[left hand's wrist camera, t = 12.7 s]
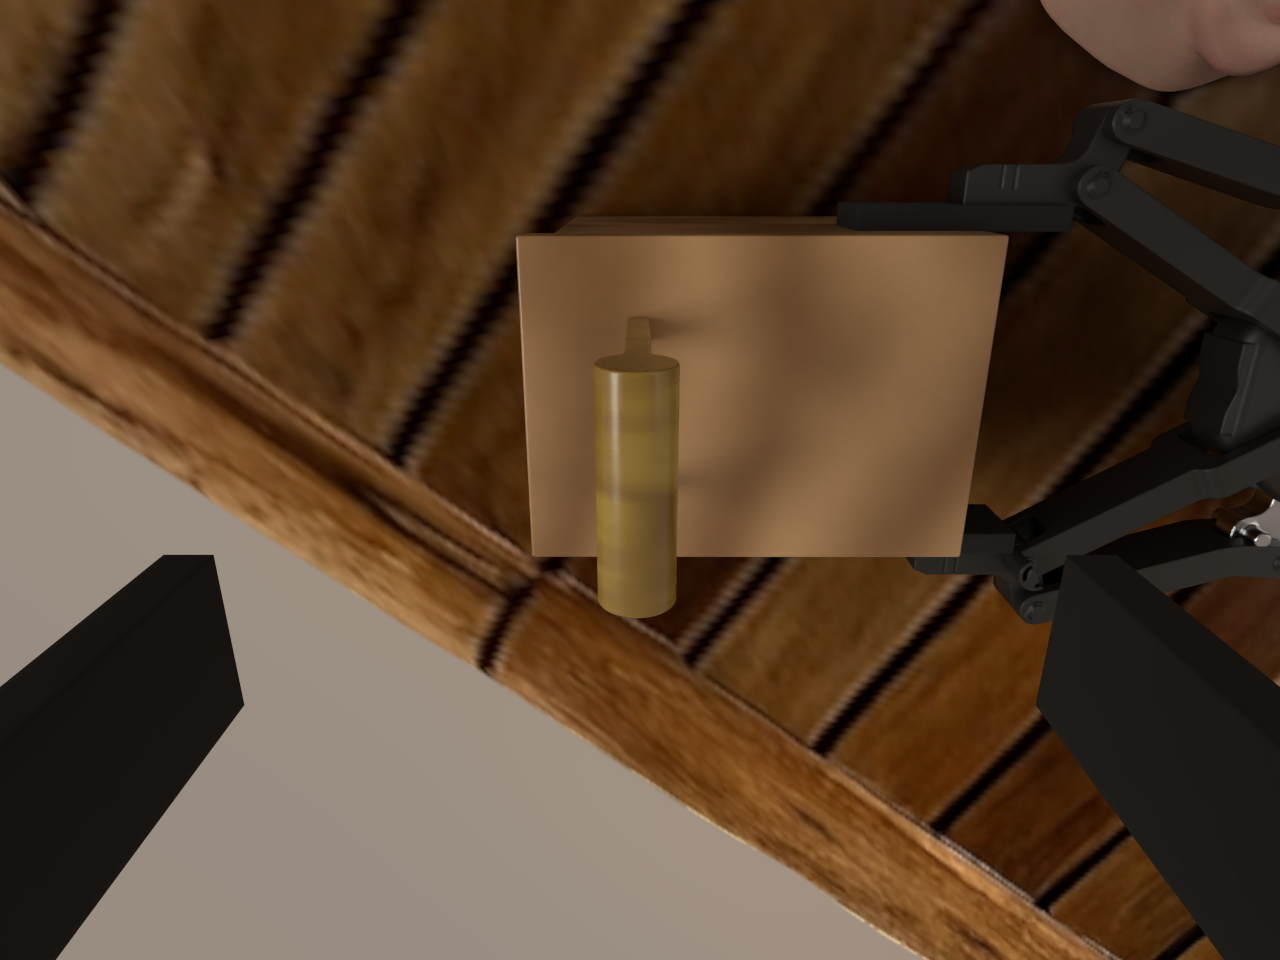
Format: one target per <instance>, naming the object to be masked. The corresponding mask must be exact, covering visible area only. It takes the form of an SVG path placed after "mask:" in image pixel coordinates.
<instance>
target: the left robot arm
mask: <svg viewBox="0 0 1280 960" xmlns="http://www.w3.org/2000/svg"><path fill="white" fill-rule="evenodd" d="M243 706H244V701H243V697H242V692H241V687H240V682H239V677H238V672H237V668H236V662H235V658H234V653H233V648H232V643H231V638H230V633H229V628H228V624H227V619H226V614H225V609H224V604H223V599H222V594H221V589H220V585H219V580H218V575H217V570H216V565H215V560H214V556H213V555H163V556H162V557H161V558H159V559H158V560H157V561H156V562H154V563H153V564H152V565H151V566H149V567H148V568H147V569H146V570H144V571H143V572H142V573H141V574H139V575H138V576H137V577H136V578H135V579H133V580H132V581H131V582H130V583H128V584H127V585H126V586H125V587H123V588H122V589H121V590H120V591H118V592H117V593H116V594H115V595H113V596H112V597H111V598H110V599H109V600H107V601H106V602H105V603H104V604H102V605H101V606H100V607H99V608H97V609H96V610H95V611H94V612H92V613H91V614H90V615H89V616H87V617H86V618H85V619H84V620H83V621H81V622H80V623H79V624H78V625H76V626H75V627H74V628H73V629H71V630H70V631H69V632H68V633H66V634H65V635H64V636H63V637H62V638H60V639H59V640H58V641H57V642H55V643H54V644H53V645H52V646H50V647H49V648H48V649H47V650H45V651H44V652H43V653H42V654H40V655H39V656H38V657H37V658H36V659H34V660H33V661H32V662H31V663H29V664H28V665H27V666H26V667H24V668H23V669H22V670H21V671H19V672H18V673H17V674H16V675H14V676H13V677H12V678H11V679H9V680H8V681H7V682H6V683H5V684H3V685H2V686H1V687H0V960H56V959H57V957H58V956H59V955H60V953H61V952H62V951H63V949H64V948H65V947H66V945H67V944H68V942H69V941H70V940H71V938H72V937H73V936H74V934H75V933H76V932H77V930H78V929H79V928H80V926H81V925H82V924H83V922H84V921H85V919H86V918H87V917H88V915H89V914H90V913H91V911H92V910H93V909H94V907H95V906H96V905H97V903H98V902H99V901H100V899H101V898H102V897H103V895H104V894H105V892H106V891H107V890H108V888H109V887H110V886H111V884H112V883H113V882H114V880H115V879H116V878H117V876H118V875H119V874H120V872H121V871H122V870H123V868H124V867H125V865H126V864H127V863H128V861H129V860H130V859H131V857H132V856H133V855H134V853H135V852H136V851H137V849H138V848H139V847H140V845H141V844H142V842H143V841H144V840H145V838H146V837H147V836H148V834H149V833H150V832H151V830H152V829H153V828H154V826H155V825H156V824H157V822H158V821H159V820H160V818H161V817H162V815H163V814H164V813H165V811H166V810H167V809H168V807H169V806H170V805H171V803H172V802H173V801H174V799H175V798H176V797H177V795H178V794H179V792H180V791H181V790H182V788H183V787H184V786H185V784H186V783H187V782H188V780H189V779H190V778H191V776H192V775H193V774H194V772H195V771H196V770H197V768H198V767H199V765H200V764H201V763H202V761H203V760H204V759H205V757H206V756H207V755H208V753H209V752H210V751H211V749H212V748H213V747H214V745H215V744H216V742H217V741H218V740H219V738H220V737H221V736H222V734H223V733H224V732H225V730H226V729H227V728H228V726H229V725H230V724H231V722H232V721H233V719H234V718H235V717H236V715H237V714H238V713H239V711H240V710H241V709H242V707H243ZM1036 706H1037V707H1038V709H1039V710H1040V711H1041V713H1042V714H1043V715H1044V717H1045V718H1046V720H1047V721H1048V722H1049V724H1050V725H1051V726H1052V728H1053V729H1054V730H1055V732H1056V733H1057V734H1058V736H1059V737H1060V738H1061V740H1062V741H1063V742H1064V744H1065V745H1066V747H1067V748H1068V749H1069V751H1070V752H1071V753H1072V755H1073V756H1074V757H1075V759H1076V760H1077V761H1078V763H1079V764H1080V765H1081V767H1082V768H1083V770H1084V771H1085V772H1086V774H1087V775H1088V776H1089V778H1090V779H1091V780H1092V782H1093V783H1094V784H1095V786H1096V787H1097V788H1098V790H1099V791H1100V792H1101V794H1102V795H1103V797H1104V798H1105V799H1106V801H1107V802H1108V803H1109V805H1110V806H1111V807H1112V809H1113V810H1114V811H1115V813H1116V814H1117V815H1118V817H1119V818H1120V820H1121V821H1122V822H1123V824H1124V825H1125V826H1126V828H1127V829H1128V830H1129V832H1130V833H1131V834H1132V836H1133V837H1134V838H1135V840H1136V841H1137V842H1138V844H1139V845H1140V847H1141V848H1142V849H1143V851H1144V852H1145V853H1146V855H1147V856H1148V857H1149V859H1150V860H1151V861H1152V863H1153V864H1154V865H1155V867H1156V868H1157V870H1158V871H1159V872H1160V874H1161V875H1162V876H1163V878H1164V879H1165V880H1166V882H1167V883H1168V884H1169V886H1170V887H1171V888H1172V890H1173V891H1174V892H1175V894H1176V895H1177V897H1178V898H1179V899H1180V901H1181V902H1182V903H1183V905H1184V906H1185V907H1186V909H1187V910H1188V911H1189V913H1190V914H1191V915H1192V917H1193V918H1194V920H1195V921H1196V922H1197V924H1198V925H1199V926H1200V928H1201V929H1202V930H1203V932H1204V933H1205V934H1206V936H1207V937H1208V938H1209V940H1210V941H1211V942H1212V944H1213V945H1214V947H1215V948H1216V949H1217V951H1218V952H1219V953H1220V955H1221V956H1222V957H1223V959H1224V960H1280V687H1279V686H1278V685H1277V684H1275V683H1274V682H1273V681H1272V680H1271V679H1269V678H1268V677H1267V676H1266V675H1264V674H1263V673H1262V672H1261V671H1259V670H1258V669H1257V668H1256V667H1254V666H1253V665H1252V664H1251V663H1249V662H1248V661H1247V660H1246V659H1245V658H1243V657H1242V656H1241V655H1240V654H1238V653H1237V652H1236V651H1235V650H1233V649H1232V648H1231V647H1230V646H1228V645H1227V644H1226V643H1225V642H1223V641H1222V640H1221V639H1220V638H1219V637H1217V636H1216V635H1215V634H1214V633H1212V632H1211V631H1210V630H1209V629H1207V628H1206V627H1205V626H1204V625H1202V624H1201V623H1200V622H1199V621H1197V620H1196V619H1195V618H1194V617H1193V616H1191V615H1190V614H1189V613H1188V612H1186V611H1185V610H1184V609H1183V608H1181V607H1180V606H1179V605H1178V604H1176V603H1175V602H1174V601H1173V600H1171V599H1170V598H1169V597H1168V596H1167V595H1165V594H1164V593H1163V592H1162V591H1160V590H1159V589H1158V588H1157V587H1155V586H1154V585H1153V584H1152V583H1150V582H1149V581H1148V580H1147V579H1145V578H1144V577H1143V576H1142V575H1141V574H1139V573H1138V572H1137V571H1136V570H1134V569H1133V568H1132V567H1131V566H1129V565H1128V564H1127V563H1126V562H1124V561H1123V560H1122V559H1121V558H1119V557H1118V556H1117V555H1066V560H1065V565H1064V570H1063V575H1062V580H1061V584H1060V589H1059V594H1058V599H1057V604H1056V609H1055V614H1054V619H1053V623H1052V628H1051V633H1050V638H1049V643H1048V648H1047V653H1046V658H1045V662H1044V667H1043V672H1042V677H1041V682H1040V687H1039V692H1038V697H1037V701H1036Z"/></svg>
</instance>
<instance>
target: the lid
mask: <svg viewBox="0 0 1280 960" xmlns="http://www.w3.org/2000/svg"><path fill="white" fill-rule="evenodd" d="M1008 241H1009V236H1007V235H1003V234H997V233H522V234H519V235H518V236H516V253H517V273H518V292H519V311H520V330H521V349H522V368H523V387H524V407H525V426H526V445H527V464H528V483H529V502H530V522H531V541H532V555H533V556H535V557H597V572H598V601H599V603H600V605H601V606H602V607H603V608H604V609H605V610H606V611H608V612H610V613H612V614H615V615H618V616H622V617H629V618H645V617H652V616H656V615H659V614H662V613H664V612H666V611H667V610H669V609H670V608H671V607H672V606H673V605H674V603H675V601H676V570H677V557H959V556H960V552H961V546H962V539H963V533H964V526H965V520H966V513H967V507H968V500H969V494H970V487H971V481H972V474H973V468H974V461H975V455H976V448H977V442H978V435H979V429H980V422H981V416H982V409H983V403H984V397H985V390H986V384H987V377H988V371H989V364H990V358H991V351H992V345H993V338H994V332H995V325H996V319H997V312H998V306H999V299H1000V293H1001V286H1002V280H1003V273H1004V267H1005V260H1006V254H1007V247H1008Z"/></svg>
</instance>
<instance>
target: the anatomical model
mask: <svg viewBox="0 0 1280 960" xmlns="http://www.w3.org/2000/svg"><path fill="white" fill-rule="evenodd" d="M1040 1H1041V3H1042V5H1043V7H1044V8H1045V10H1046V11H1047V13H1048V14H1049V16H1050V17H1051V18H1052V19H1053V20H1054V21H1055V22H1056V23H1057V24H1058V25H1059V27H1060V28H1061V29H1062V30H1063V31H1064V32H1065V33H1066V34H1068V35H1069V36H1070V37H1071V38H1072V39H1073V40H1075V41H1076V42H1077V43H1078V44H1079V45H1081V46H1082V47H1083V48H1084V49H1085V50H1087V51H1088V52H1089V53H1090V54H1091V55H1092V56H1094V57H1095V58H1096V59H1097V60H1099V61H1100V62H1102V63H1103V64H1104V65H1106V66H1107V67H1108V68H1110V69H1112V70H1114V71H1116V72H1118V73H1120V74H1121V75H1123V76H1125V77H1127V78H1129V79H1131V80H1132V81H1134V82H1136V83H1138V84H1140V85H1142V86H1145V87H1147V88H1150V89H1153V90H1157V91H1164V92H1173V91H1181V90H1186V89H1190V88H1194V87H1197V86H1200V85H1203V84H1206V83H1209V82H1212V81H1214V80H1217V79H1220V78H1222V77H1225V76H1228V75H1230V76H1248V75H1253V74H1256V73H1259V72H1262V71H1264V70H1267V69H1269V68H1272V67H1274V66H1276V65H1278V64H1280V0H1040Z"/></svg>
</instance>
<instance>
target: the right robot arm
mask: <svg viewBox="0 0 1280 960" xmlns="http://www.w3.org/2000/svg"><path fill="white" fill-rule="evenodd" d="M1072 130H1073V137H1072V139H1071V141H1070V143H1069V145H1068V147H1067V148H1066V150H1065V152H1064V153H1063V154H1062V155H1061V156H1060V157H1059V158H1058V159H1056V160H1055V161H1053V162H1051V163H1048V164H976V165H966V166H963V167H961V168H958V169H956V170H953V171H951V177H950V185H949V192H948V200H947V202H838V208H837V220H836V225H837V226H841V227H844V228H848V229H851V230H855V231H987V232H1071V226H1072V220H1073V219H1074V220H1075V221H1077V222H1078V223H1080V224H1081V225H1082V226H1084V227H1085V228H1087V229H1088V230H1090V231H1091V232H1093V233H1094V234H1095V235H1097V236H1098V237H1100V238H1101V239H1103V240H1104V241H1106V242H1107V243H1108V244H1110V245H1111V246H1113V247H1114V248H1116V249H1117V250H1119V251H1120V252H1121V253H1123V254H1124V255H1126V256H1127V257H1129V258H1130V259H1132V260H1133V261H1135V262H1136V263H1137V264H1139V265H1140V266H1142V267H1143V268H1145V269H1146V270H1148V271H1149V272H1150V273H1152V274H1153V275H1155V276H1156V277H1158V278H1159V279H1161V280H1162V281H1163V282H1165V283H1166V284H1168V285H1169V286H1171V287H1172V288H1174V289H1175V290H1176V291H1178V292H1179V293H1181V294H1182V295H1184V296H1185V297H1186V299H1185V300H1186V301H1187V302H1188V303H1189V304H1191V305H1192V306H1194V307H1195V308H1197V309H1198V310H1199V311H1201V312H1202V313H1204V314H1205V315H1207V316H1208V317H1210V318H1211V319H1212V320H1214V321H1215V322H1217V323H1218V325H1217V326H1216V328H1215V329H1214V331H1213V332H1205V333H1204V337H1203V341H1202V345H1201V349H1200V353H1199V365H1200V376H1199V379H1198V381H1197V383H1196V385H1195V386H1194V388H1193V390H1192V392H1191V394H1190V396H1189V398H1188V402H1187V406H1186V410H1185V414H1184V418H1183V419H1186V420H1188V421H1187V422H1185V423H1183V424H1181V425H1179V426H1177V427H1175V428H1173V429H1171V430H1169V431H1167V432H1165V433H1163V434H1161V435H1159V436H1157V437H1156V438H1154V439H1153V441H1152V446H1151V447H1150V448H1149V449H1147V450H1145V451H1143V452H1141V453H1139V454H1137V455H1135V456H1133V457H1131V458H1129V459H1127V460H1125V461H1123V462H1121V463H1118V464H1116V465H1114V466H1112V467H1110V468H1108V469H1106V470H1104V471H1102V472H1100V473H1098V474H1096V475H1094V476H1092V477H1090V478H1088V479H1086V480H1084V481H1082V482H1080V483H1078V484H1076V485H1074V486H1072V487H1070V488H1068V489H1066V490H1064V491H1062V492H1060V493H1057V494H1055V495H1053V496H1051V497H1049V498H1047V499H1045V500H1043V501H1041V502H1039V503H1037V504H1035V505H1033V506H1031V507H1029V508H1027V509H1025V510H1023V511H1021V512H1019V513H1017V514H1015V515H1013V516H1011V517H1009V518H1007V519H1005V520H1003V521H1002V520H1001V519H1000V518H999V517H998V516H997V515H996V514H995V513H994V512H993V511H992V510H991V509H990V508H989V507H988V506H986V505H985V504H968V507H967V513H966V520H965V526H964V533H963V539H962V546H961V552H960V556H959V557H906V559H907V560H908V561H909V563H910V564H911V566H912V567H913V569H914V570H917V571H920V572H922V573H925V574H993V575H995V576H994V579H993V584H994V586H995V588H996V589H997V590H998V592H999V593H1000V594H1001V595H1002V596H1003V597H1004V599H1005V600H1006V601H1007V602H1008V603H1009V604H1010V606H1011V607H1012V608H1013V609H1014V610H1015V612H1016V613H1017V614H1018V615H1019V616H1020V617H1021V619H1022V620H1024V621H1025V622H1026V623H1029V624H1040V623H1044V622H1048V621H1053V619H1054V614H1055V609H1056V604H1057V599H1058V594H1059V589H1060V584H1061V580H1062V575H1063V570H1064V565H1065V560H1066V555H1117V556H1118V557H1119V558H1121V559H1122V560H1123V561H1124V562H1126V563H1127V564H1128V565H1129V566H1131V567H1132V568H1133V569H1134V570H1136V571H1137V572H1138V573H1139V574H1141V575H1142V576H1143V577H1144V578H1145V579H1147V580H1148V581H1149V582H1150V583H1152V584H1153V585H1154V586H1155V587H1157V588H1158V589H1159V590H1160V591H1162V592H1163V593H1166V592H1170V591H1174V590H1178V589H1182V588H1186V587H1190V586H1194V585H1198V584H1202V583H1206V582H1210V581H1214V580H1218V579H1222V578H1226V577H1230V576H1242V577H1261V578H1280V281H1279V282H1278V281H1276V280H1274V279H1271V278H1269V277H1266V276H1264V275H1262V274H1261V273H1259V272H1258V271H1256V270H1255V269H1253V268H1252V267H1251V266H1249V265H1248V264H1246V263H1245V262H1244V261H1242V260H1241V259H1239V258H1238V257H1237V256H1235V255H1234V254H1232V253H1231V252H1230V251H1228V250H1227V249H1225V248H1224V247H1223V246H1221V245H1220V244H1218V243H1217V242H1216V241H1214V240H1213V239H1211V238H1210V237H1209V236H1207V235H1206V234H1204V233H1203V232H1202V231H1200V230H1199V229H1197V228H1196V227H1195V226H1193V225H1192V224H1190V223H1189V222H1188V221H1186V220H1185V219H1183V218H1182V217H1181V216H1179V215H1178V214H1176V213H1175V212H1174V211H1172V210H1171V209H1169V208H1168V207H1167V206H1165V205H1164V204H1162V203H1161V202H1160V201H1158V200H1157V199H1155V198H1154V197H1153V196H1151V195H1150V194H1148V193H1147V192H1146V191H1144V190H1143V189H1141V188H1140V187H1139V186H1137V185H1136V184H1134V183H1133V182H1132V181H1130V180H1129V179H1127V178H1126V177H1125V176H1123V175H1122V174H1120V173H1119V171H1120V169H1121V167H1122V165H1123V163H1124V161H1125V160H1129V161H1132V162H1135V163H1138V164H1141V165H1143V166H1146V167H1149V168H1152V169H1155V170H1158V171H1161V172H1164V173H1167V174H1170V175H1173V176H1175V177H1178V178H1181V179H1184V180H1187V181H1190V182H1193V183H1196V184H1199V185H1202V186H1204V187H1207V188H1210V189H1213V190H1216V191H1219V192H1222V193H1225V194H1228V195H1231V196H1233V197H1236V198H1239V199H1242V200H1245V201H1248V202H1251V203H1254V204H1257V205H1260V206H1264V207H1268V208H1274V209H1280V147H1278V146H1276V145H1273V144H1270V143H1267V142H1264V141H1261V140H1259V139H1256V138H1253V137H1250V136H1247V135H1244V134H1242V133H1239V132H1236V131H1233V130H1230V129H1227V128H1225V127H1222V126H1219V125H1216V124H1213V123H1211V122H1208V121H1205V120H1202V119H1199V118H1196V117H1194V116H1191V115H1188V114H1185V113H1182V112H1179V111H1177V110H1174V109H1171V108H1168V107H1165V106H1162V105H1160V104H1157V103H1154V102H1151V101H1148V100H1146V99H1140V98H1134V99H1127V100H1120V101H1113V102H1106V103H1099V104H1093V105H1090V106H1086V107H1085V108H1083V109H1082V110H1081V111H1080V112H1079V113H1078V114H1077V116H1076V117H1075V119H1074V122H1073V126H1072ZM1207 451H1209V452H1210V453H1211V454H1213V455H1211V454H1209V453H1207ZM1249 486H1251V487H1252V488H1253V489H1255V490H1256V492H1255V494H1254V496H1253V498H1252V499H1251V500H1250V501H1249V502H1247V503H1246V504H1244V505H1242V506H1240V507H1234V508H1230V509H1228V510H1227V509H1225V508H1218V509H1216V510H1214V511H1213V513H1212V516H1211V518H1212V519H1195V520H1186V521H1181V522H1176V523H1172V524H1168V525H1164V526H1160V527H1157V528H1153V529H1149V530H1145V531H1141V532H1137V533H1133V534H1129V533H1131V532H1133V531H1135V530H1137V529H1139V528H1142V527H1144V526H1146V525H1148V524H1150V523H1152V522H1154V521H1156V520H1158V519H1161V518H1163V517H1165V516H1167V515H1169V514H1171V513H1173V512H1175V511H1177V510H1179V509H1182V508H1184V507H1186V506H1188V505H1190V504H1192V503H1194V502H1196V501H1198V500H1201V499H1206V498H1209V499H1219V498H1225V497H1228V496H1230V495H1232V494H1235V493H1237V492H1239V491H1241V490H1243V489H1245V488H1247V487H1249ZM1127 534H1129V535H1127Z"/></svg>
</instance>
